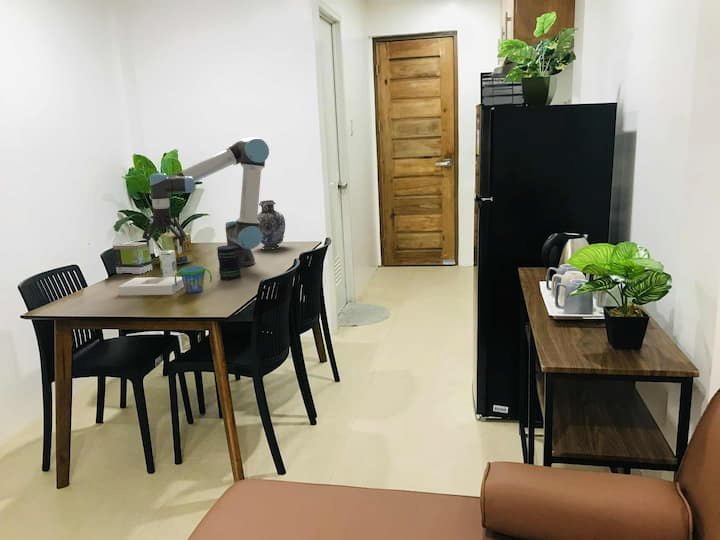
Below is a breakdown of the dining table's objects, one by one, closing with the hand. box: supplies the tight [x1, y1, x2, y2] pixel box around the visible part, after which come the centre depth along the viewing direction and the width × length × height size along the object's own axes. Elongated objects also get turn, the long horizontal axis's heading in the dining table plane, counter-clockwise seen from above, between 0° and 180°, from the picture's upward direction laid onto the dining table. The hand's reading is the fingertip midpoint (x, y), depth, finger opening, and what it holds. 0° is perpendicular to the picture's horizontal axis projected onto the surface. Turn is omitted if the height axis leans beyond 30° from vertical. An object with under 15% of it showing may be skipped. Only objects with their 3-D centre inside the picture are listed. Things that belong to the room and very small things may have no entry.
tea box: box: [112, 242, 153, 275], centre depth 304 cm, size 15×10×15 cm
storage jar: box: [216, 244, 242, 282], centre depth 281 cm, size 10×10×15 cm
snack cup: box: [175, 265, 213, 294], centre depth 260 cm, size 16×10×10 cm
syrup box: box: [158, 250, 178, 277], centre depth 280 cm, size 6×6×14 cm
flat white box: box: [117, 276, 185, 296], centre depth 265 cm, size 24×16×4 cm, turn 85°
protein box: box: [160, 231, 194, 266], centre depth 324 cm, size 10×15×16 cm
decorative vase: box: [257, 199, 286, 250], centre depth 350 cm, size 21×19×28 cm
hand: (166, 253), depth 278 cm, fingers open, 13 cm apart
